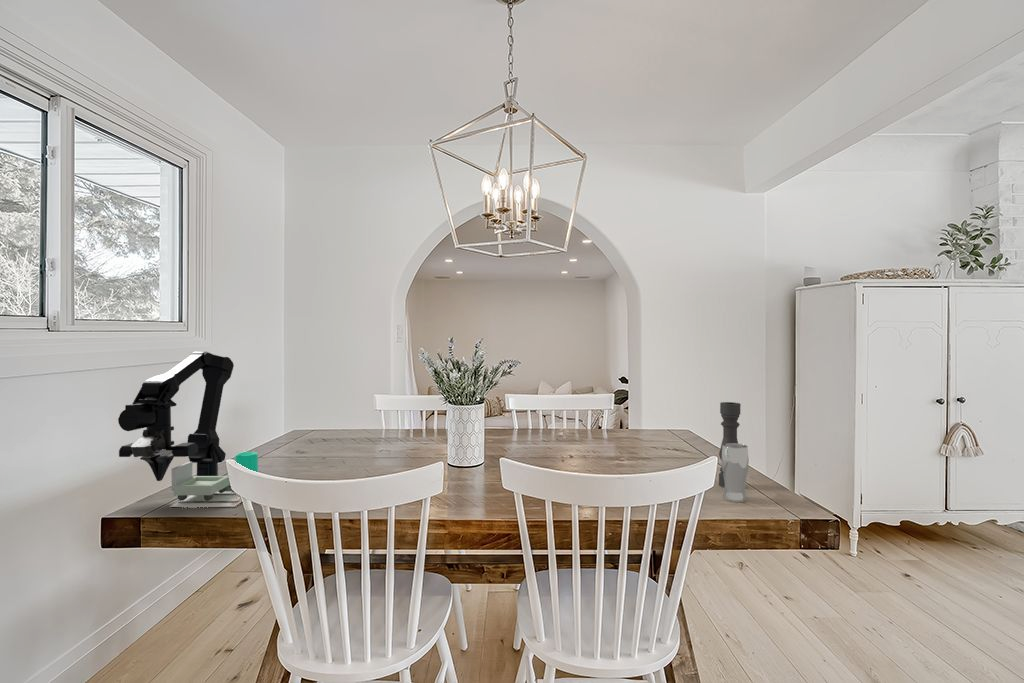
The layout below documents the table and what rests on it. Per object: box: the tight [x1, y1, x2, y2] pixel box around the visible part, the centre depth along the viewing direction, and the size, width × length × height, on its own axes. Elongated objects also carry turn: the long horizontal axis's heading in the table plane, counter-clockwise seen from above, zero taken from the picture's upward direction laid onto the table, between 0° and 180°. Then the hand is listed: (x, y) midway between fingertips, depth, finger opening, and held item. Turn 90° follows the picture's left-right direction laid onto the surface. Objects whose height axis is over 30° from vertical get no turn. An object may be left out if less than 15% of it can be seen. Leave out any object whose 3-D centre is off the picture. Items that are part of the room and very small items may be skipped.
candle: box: [235, 448, 259, 473], centre depth 162 cm, size 6×6×12 cm
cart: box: [170, 461, 231, 501], centre depth 151 cm, size 10×11×9 cm
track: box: [169, 490, 242, 509], centre depth 151 cm, size 13×17×1 cm
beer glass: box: [721, 443, 749, 503], centre depth 152 cm, size 7×7×15 cm
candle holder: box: [718, 401, 741, 488], centre depth 165 cm, size 6×6×25 cm
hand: (159, 480), depth 151 cm, fingers closed
